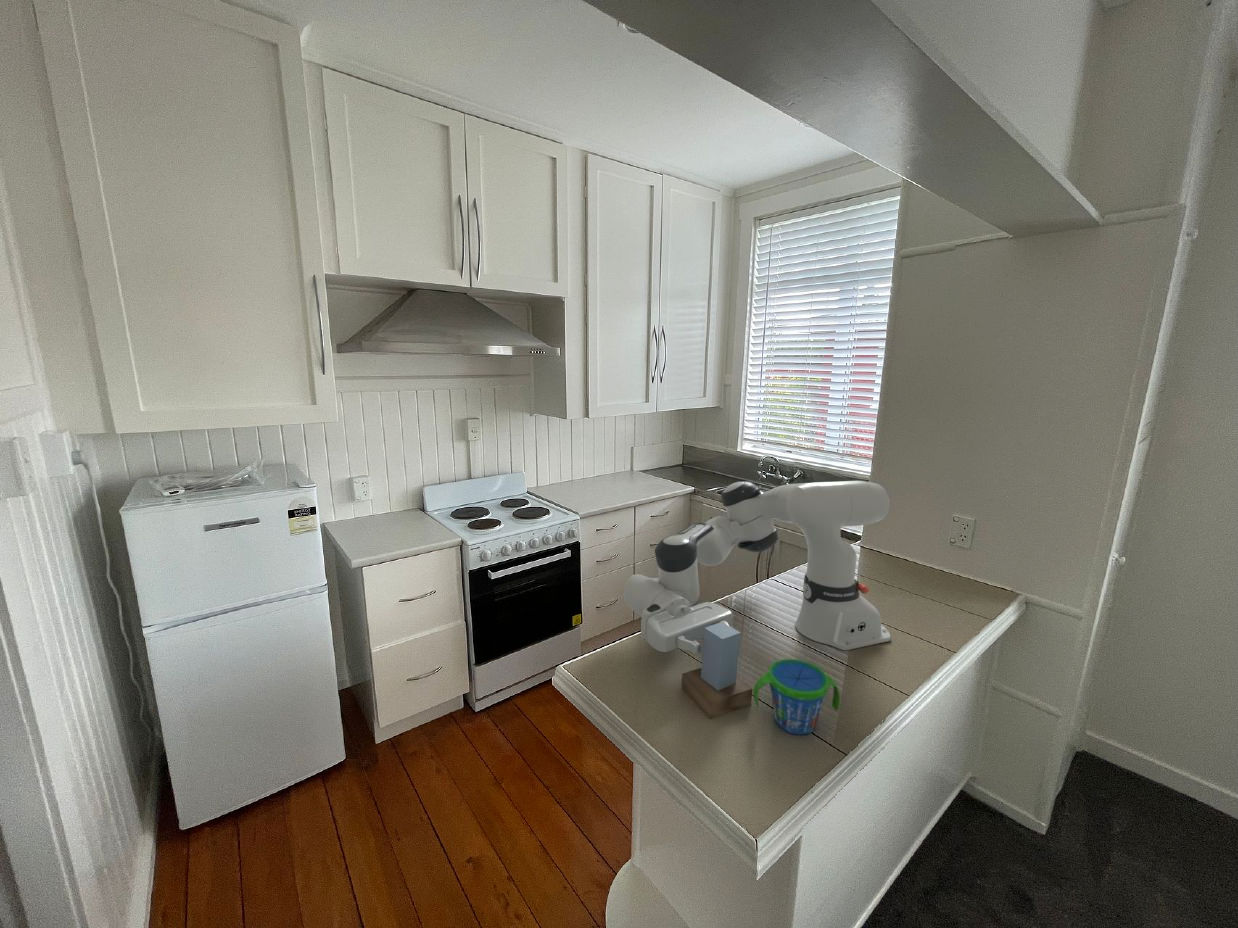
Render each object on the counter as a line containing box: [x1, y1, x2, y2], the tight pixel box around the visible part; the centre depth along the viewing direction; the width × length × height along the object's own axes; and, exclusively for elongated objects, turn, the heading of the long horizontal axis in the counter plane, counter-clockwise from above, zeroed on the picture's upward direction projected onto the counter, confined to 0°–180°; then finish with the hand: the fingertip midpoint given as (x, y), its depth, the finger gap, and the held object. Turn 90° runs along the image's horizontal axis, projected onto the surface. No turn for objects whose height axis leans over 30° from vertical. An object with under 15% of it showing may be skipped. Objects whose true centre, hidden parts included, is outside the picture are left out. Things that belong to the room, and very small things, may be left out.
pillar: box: [700, 622, 741, 691], centre depth 101 cm, size 5×5×11 cm
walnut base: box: [681, 667, 753, 720], centre depth 103 cm, size 10×10×4 cm
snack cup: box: [753, 658, 841, 735], centre depth 95 cm, size 16×10×10 cm
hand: (716, 642), depth 102 cm, fingers open, 8 cm apart
